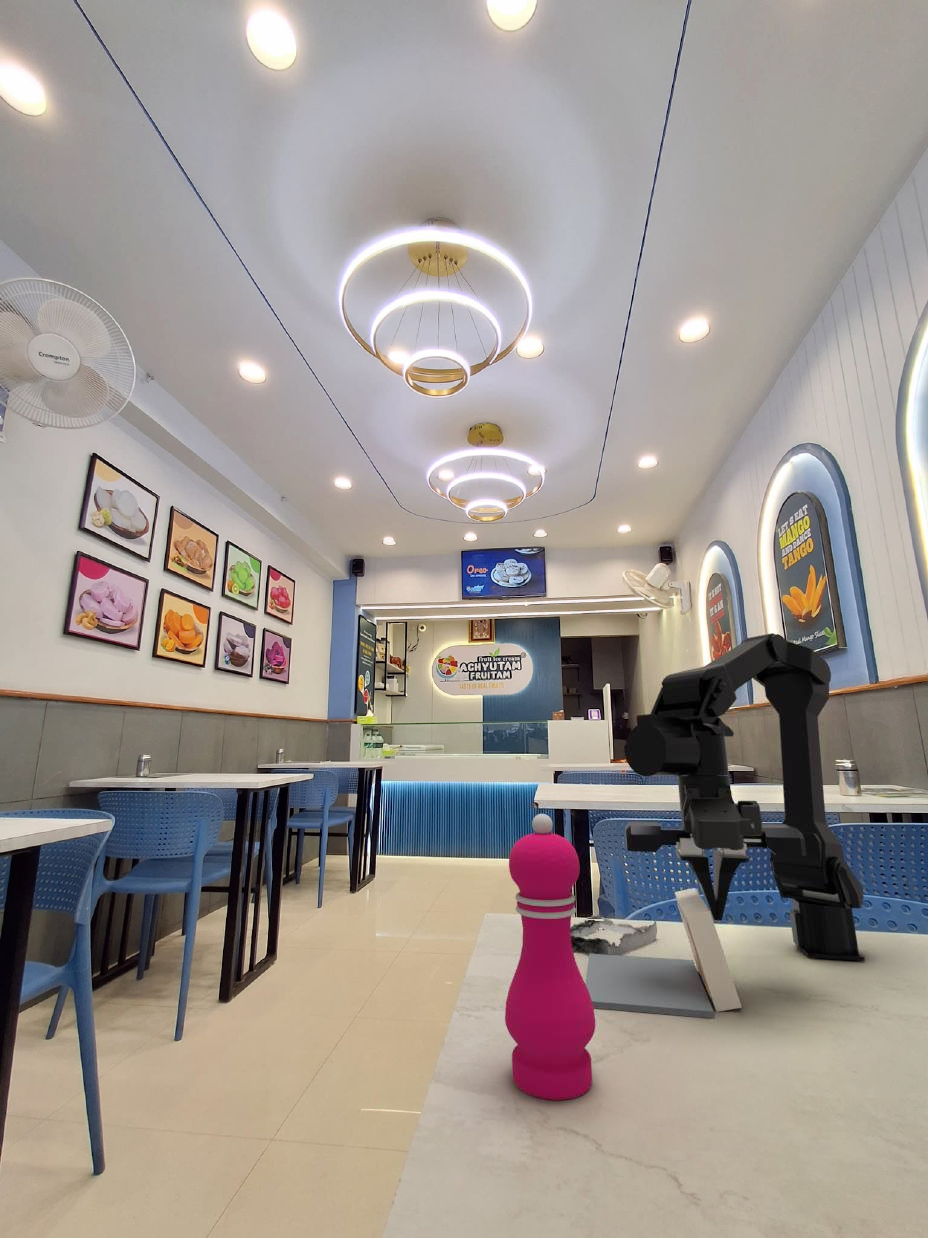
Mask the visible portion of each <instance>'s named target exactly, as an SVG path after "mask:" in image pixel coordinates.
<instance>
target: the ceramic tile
mask: <svg viewBox="0 0 928 1238" xmlns="http://www.w3.org/2000/svg"><path fill="white" fill-rule="evenodd" d="M674 895H675V898H676V901H677V902H676V904H677V907H678V910H679V913H680V917H681V920H682V923H683V927H684V929H685V933H686V935H687V939H688V943H689V944H690V945H689V946H690V948H691V952H692V955H693V958H694V961H695V962H694V963H695V966H696V968H697V971H698V973H699V976H700V978H701V981H702V983H703V985H704V986H705V989H706V991H707V992H706V993H707V994H708V997H709V998H710V1000H711V1002H712V1005H713V1007H714V1009H715V1012H724V1011H730V1010H734V1009H735V1010H736V1009H741V1008H742V1004H741V1001H740V997H739V994H738V992H737V989H736V985H735V982H734V980H733V977H732V973H731V971H730V967H729V963H728V962H727V958H726V956H725V952H724V949H723V946H722V943H721V940H720V937H719V934H718V931H717V928H716V925H715V922H714V919H713V917H712V914H711V912H710V909H709V907H708V905H707V903H705V901H704V900H703V898H702V897H701V895H700V894H699V891H698V890H697V889H696V888H695V887H693V888H689V889H688V888H687V889H684V890H683V889H682V890H679V891H675V892H674Z"/></svg>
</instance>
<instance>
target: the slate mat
mask: <svg viewBox="0 0 928 1238" xmlns="http://www.w3.org/2000/svg"><path fill="white" fill-rule="evenodd" d="M586 970H587V971H586V977H585V984H586V987H587V989H588V991H589V994H590V997H591V1000H592V1003H593V1008H594V1009H601V1010H609V1011H610V1010H613V1011H622V1012H623V1011H625V1012H636V1013H647V1014H648V1013H649V1014H657V1015H658V1014H659V1015H660V1014H661V1015H671V1016H682V1017H683V1016H684V1017H695V1018H704V1019H705V1018H706V1019H715V1015H714V1014H715V1013H714V1009H713V1007H712V1005H711V1002H710V999H709V998H708V997H709V996H708V995H707V994H708V993H707V992H706V990H705V989H706V988H704V983H703V981H702V979H701V976H700V974H699V971H698V969H697V966H696V964H695V962H694V960H692V959H684V958H683V959H681V958H666V957H665V958H664V957H650V956H649V957H648V956H635V955H634V956H633V955H606V954H590V953H589V954H588V963H587V969H586Z"/></svg>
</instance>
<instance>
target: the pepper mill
mask: <svg viewBox="0 0 928 1238" xmlns="http://www.w3.org/2000/svg"><path fill="white" fill-rule="evenodd" d="M531 824H532V825H531V826H532V829H533V831H534V832H532V833H529V834H526V835H524V836H522V837H521V838H520V839H518V840H517V841H516V842H515V843H514V845H513V847H512V849H511V850H510V853H509V859H508V869H509V874H510V877H511V879H512V881H513V882H514V884H516V886H517V887H518V890H519V892H517V893H516V894H515V900H516V906H515V912H517V913H518V914H519V915H520V919H521V925H522V944H521V945H522V946H521V949H520V950H521V952H520V956H519V960H518V963H517V965H516V969H515V972H514V974H513V977H512V980H511V982H510V985H509V988H508V991H507V992H508V993H507V997H506V1000H505V1011H504V1012H505V1015H504V1017H505V1018H504V1023H505V1027H506V1028H507V1032H508V1033H509V1035H510V1037H511V1038H512V1039H513V1040H514V1042H515V1043H516V1046H515V1047H514V1048H513V1050H512V1053H511V1067H512V1068H511V1069H512V1070H511V1071H512V1080H513V1082H514V1083H515V1085H516V1087H517V1088H518V1089H519V1090H521V1091H522V1092H524V1093H526V1094H527V1095H530V1096H533V1097H535V1098H539V1099H544V1100H552V1101H553V1100H554V1101H557V1100H558V1101H564V1100H570V1099H575V1098H577V1097H580V1096H583V1095H585V1094H586V1093H587V1092H588V1091H589V1090H590V1089H591V1086H592V1084H593V1067H592V1057H591V1054H590V1052H589V1051H588V1049H586V1047H587V1045H588V1044H589V1043H590V1041H591V1040H592V1038H593V1036H594V1034H595V1032H596V1017H595V1008H593V1003H592V1000H591V997H590V994H589V991H588V989H587V987H586V981H585V980H584V979H583V976H582V974H581V972H580V969H579V966H578V963H577V961H576V958H575V954H574V951H573V950H572V943H571V933H570V928H571V926H572V924H571V923H572V921H571V920H572V916H573V915H574V914H575V913H576V912H577V909H576V906H575V903H574V902H575V901H576V896H575V894H573V893H572V892H571V891H572V888H573V887H574V885H575V884H576V883H577V881H578V879H579V875H580V871H581V870H580V867H581V866H580V860H579V859H580V858H579V856H578V853H577V850H576V849H575V847H574V846H573V844H572V843H571V842H570V841H569V840H568V839H566V838H565V837H563V836H561V835H559V834H557V833H554V832H553V833H552V829H553V825H554V824H553V821H552V818H551V817H550V816H549V815H547V814H545V813H539V814H537V815H535V816H534V818H533V819H532V822H531Z"/></svg>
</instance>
